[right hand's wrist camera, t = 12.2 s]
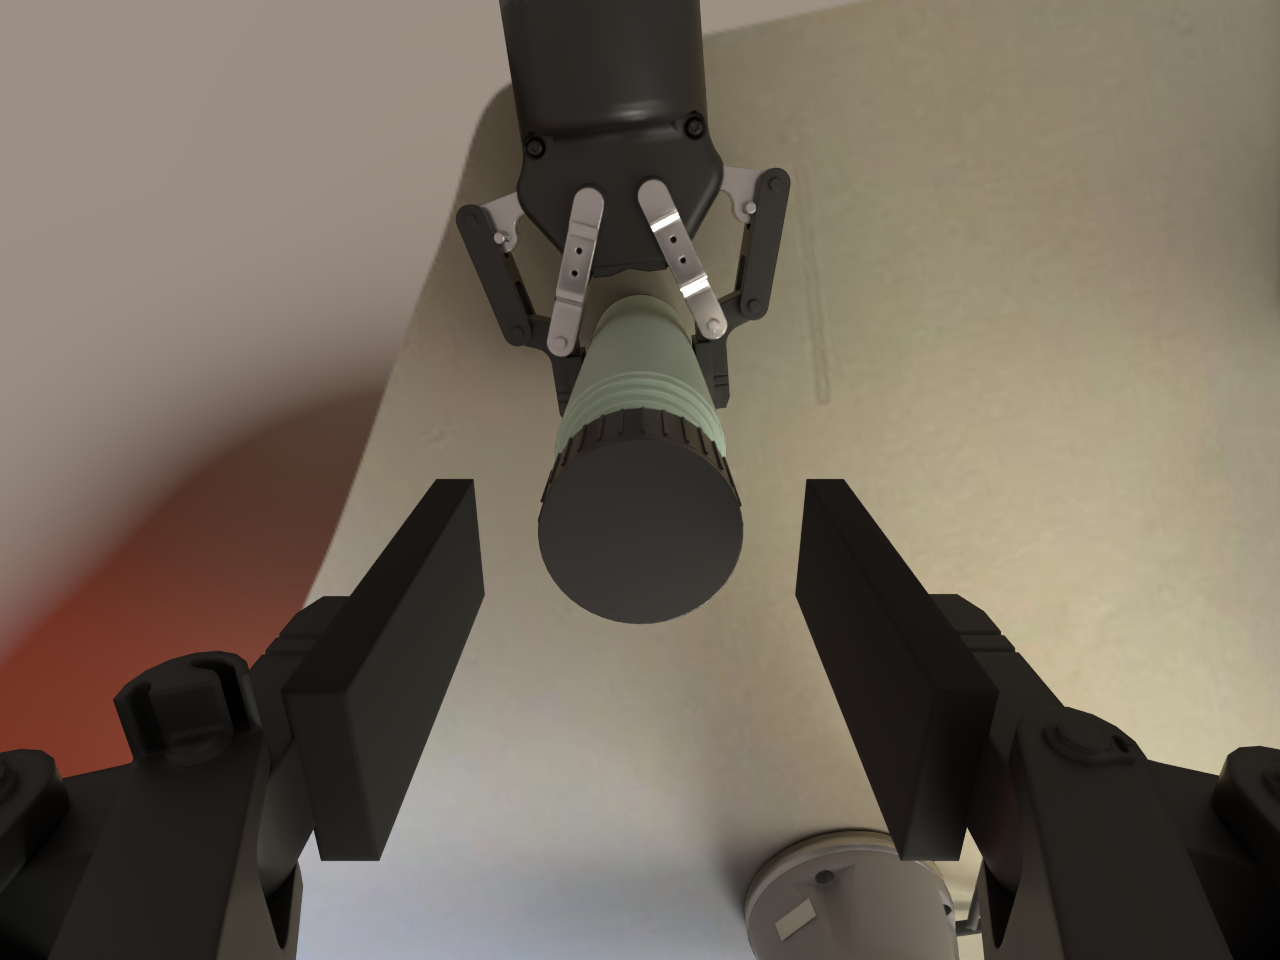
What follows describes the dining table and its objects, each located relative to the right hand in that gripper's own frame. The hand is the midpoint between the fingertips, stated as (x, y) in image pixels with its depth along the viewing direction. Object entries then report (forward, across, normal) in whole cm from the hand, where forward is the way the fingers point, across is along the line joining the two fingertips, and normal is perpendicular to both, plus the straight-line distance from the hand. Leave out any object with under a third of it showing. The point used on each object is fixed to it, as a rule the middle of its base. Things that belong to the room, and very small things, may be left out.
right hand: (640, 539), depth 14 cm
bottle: (+25, 0, 0) cm, 25 cm away
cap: (+1, 0, 0) cm, 1 cm away
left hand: (+18, 0, -3) cm, 18 cm away
